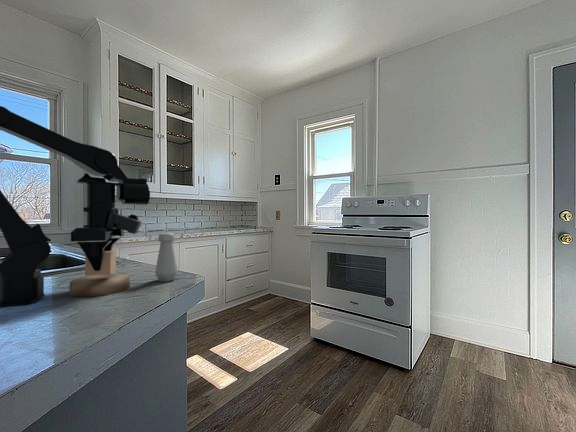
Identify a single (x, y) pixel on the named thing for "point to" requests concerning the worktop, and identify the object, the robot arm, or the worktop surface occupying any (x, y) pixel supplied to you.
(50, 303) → the worktop surface
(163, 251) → the salt shaker
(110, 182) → the robot arm
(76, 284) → the walnut base
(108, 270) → the terracotta block
